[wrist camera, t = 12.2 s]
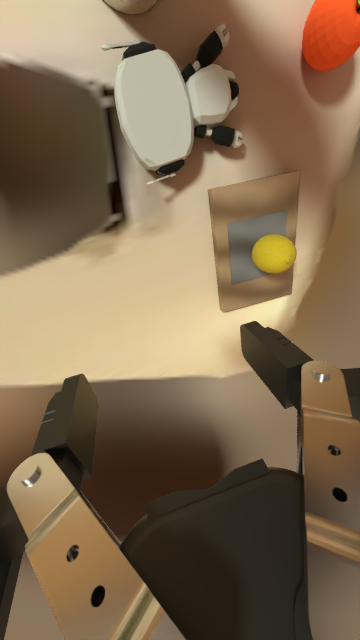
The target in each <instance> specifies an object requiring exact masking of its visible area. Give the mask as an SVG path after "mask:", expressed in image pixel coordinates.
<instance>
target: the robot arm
mask: <svg viewBox="0 0 360 640" xmlns="http://www.w3.org/2000/svg"><path fill="white" fill-rule="evenodd" d="M104 1H105V2H106V3H107V4H108V5H110V6H111V7H113V8H114V9H116V10H117V11H120V12H123V13H126V14H139V13H143V12H145V11H147V10H148V9H150V8H151V7H153V5H154V4H155V3H156V2H157V1H158V0H104ZM240 332H241V346H242V353H243V355H244V358H245V359H246V361H247V362H248V363H249V365H250V366H251V367H252V368H253V370H254V371H255V372H256V373H257V375H258V376H259V377H260V378H261V380H262V381H263V382H264V383H265V385H266V386H267V387H268V388H269V390H270V391H271V392H272V393H273V395H274V396H275V397H276V398H277V400H278V401H279V402H280V403H281V405H282V406H283V407H284V408H285V409H286V408H289V407H292V406H294V407H295V408H296V409H297V461H296V472H294V471H291V470H287V469H283V468H275V467H267V466H266V464H265V462H264V461H263V459H260V460H257V461H255V462H252V463H249V464H247V465H244V466H242V467H239V468H237V469H234V470H233V471H232V472H231V473H229V474H228V475H227V476H225V477H224V478H223V479H221V480H220V481H219V482H218V483H216V484H215V485H214V486H212V487H211V488H209V489H205V490H191V491H177V492H174V493H171V494H168V495H166V496H163V497H161V498H158V499H155V500H153V501H150V502H148V503H146V506H147V514H146V515H145V516H144V517H143V518H142V519H141V520H140V521H139V522H137V523H136V525H135V526H134V527H133V528H132V529H131V530H130V532H129V533H128V535H127V536H126V538H125V539H124V541H123V542H122V544H121V543H120V541H119V540H118V539H117V538H116V536H115V535H114V534H113V533H112V531H111V530H110V529H109V528H108V527H107V525H106V524H105V522H104V521H103V520H102V519H101V517H100V516H99V515H98V513H97V512H96V511H95V510H94V508H93V507H92V506H91V504H90V503H89V502H88V501H87V499H86V498H85V497H84V495H83V494H82V493H81V483H82V481H84V480H86V479H89V478H92V471H93V460H94V449H95V437H96V425H97V415H98V403H97V398H96V396H95V394H94V392H93V390H92V388H91V387H90V384H89V383H88V381H87V379H86V377H85V376H84V374H79V375H76V376H72V377H69V378H66V379H65V380H64V383H63V387H62V390H61V392H57V393H56V394H55V395H54V396H53V398H52V399H51V400H50V402H49V403H48V406H47V409H46V412H45V415H44V418H43V421H42V422H43V424H41V427H40V430H39V433H38V436H37V439H36V442H35V445H34V448H33V451H32V454H31V457H29V458H28V459H26V460H25V461H24V462H22V464H20V465H19V466H18V468H17V469H16V470H15V471H14V472H13V474H12V475H11V477H10V479H9V482H8V484H7V485H6V486H4V487H3V488H1V489H0V640H4V636H5V632H6V627H7V623H8V618H9V614H10V609H11V605H12V600H13V596H14V591H15V587H16V582H17V578H18V573H19V569H20V564H21V559H22V555H23V551H25V550H26V552H27V555H28V557H29V560H30V562H31V564H32V567H33V569H34V571H35V573H36V576H37V578H38V581H39V583H40V585H41V587H42V590H43V592H44V594H45V597H46V599H47V601H48V604H49V606H50V608H51V610H52V613H53V615H54V617H55V619H56V622H57V624H58V626H59V629H60V631H61V633H62V635H63V638H64V640H360V368H353V369H339V368H338V367H336V366H335V365H333V364H331V363H328V362H325V361H314V360H313V359H312V358H310V357H309V356H308V355H307V354H306V353H304V352H303V351H302V350H301V349H299V348H298V347H297V346H296V345H294V344H293V343H291V341H290V340H288V339H287V338H285V336H284V335H282V334H281V333H280V332H279V331H277V330H274V329H272V328H269V327H267V328H264V327H263V326H261V325H260V324H259V323H258V322H257V321H253V322H250V323H246V324H243V325H241V327H240Z"/></svg>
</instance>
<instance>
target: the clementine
mask: <svg viewBox="0 0 360 640" xmlns="http://www.w3.org/2000/svg"><path fill="white" fill-rule="evenodd" d="M359 46H360V0H316V1H315V3H314V4H313V6H312V8H311V11H310V13H309V15H308V18H307V20H306V22H305V27H304V31H303V40H302V47H303V54H304V57H305V59H306V61H307V63H308V64H309V65H310V66H311V67H312V68H313V69H316V70H319V71H327V70H331V69H334V68H336V67H338V66H340V65H342V64H343V63H344V62H345V61H346V60H348V59H349V58H350V57H351V56H352V55H353V54H354V53H355V52H356V50H357V49H358V48H359Z"/></svg>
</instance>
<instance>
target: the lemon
mask: <svg viewBox="0 0 360 640" xmlns="http://www.w3.org/2000/svg"><path fill="white" fill-rule="evenodd" d="M252 259H253V262H254V264H255V265H256V266H257V267H258V268H259V269H260V270H262V271H264V272H267V273H281V272H284V271H286V270H287V269H289V268H290V267H291V266H292V265H293V263H294V261H295V259H296V248H295V245H294V244H293V243H292V241H290V240H289V239H288V238H286V237H284V236H281V235H278V234H270V235H267V236H264V237H262V238H260V239H259V240H258V241H257V242H256V244H255V245H254V247H253V250H252Z"/></svg>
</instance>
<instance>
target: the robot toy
mask: <svg viewBox="0 0 360 640" xmlns="http://www.w3.org/2000/svg"><path fill="white" fill-rule="evenodd" d="M226 28H227V27H226V25H225V24H224V23H222V24H220V25H218V26H217V27H216V30H215V31H213V32H212V33H211V34H210V35H209V36H208V37H207V38H206V40H205V41H204V42H203V43H202V44H201V46H200V48H199V51H198V54H197V58H196V61H195V62H194V64H193V65H192V64H188V65H187V66H186V67H185V68H184V70H183V71H182V72H180V70H179V68H178V66H177V64H176V62H175V61H174V60H173V59H172V57H171V56H170V55H169V54H168V52H165V51H162V50H159V49H156V47H155V45H154V44H150V43H146V42H141V43H139V39H137V40H133V41H132V42H128V43H119V44H110V45H109V44H104V45H103V46H102V47H101V48H102V49H103V50H104V51H106V50H109V49H115V48H123V47H129V48H128V49H127V50H126V51H125V52H124V53H123V59H122V62H121V63H120V64H119V66H118V67H117V73H116V80H115V87H114V90H115V102H116V109H117V113H118V118H119V122H120V127H121V131H122V133H123V135H124V137H125V139H126V141H127V143H128V145H129V147H130V149H131V151H132V153H133V154H134V156H135V157H136V159H137V160H138V162H139V163H140V164H141V165H142V166H143V167H145V168H146V169H148V170H153V171H156V173H157V174H159V175H168V174H169V175H168V176H165V177H162V178H159V179H156V180H154V181H153V180H152V181H150V182H148V183H147V184H152V183H154V182H156V181H159V180H162V179H165V178H167V177H172V176H175V172H176V171H178V170H179V169H180V168H181V167H182V166H183V165H184V160H185V159H186V157H187V156H188V155H189V154H190V153H191V150H192V146H193V140H194V136H195V137H199V138H203V137H204V136H205V135H206V136H209V137H210V138H211V139H212V140H213V142H214V143H215V144H219V145H223V146H227V147H230V146H231V145H232V146H233V147H234V148H239V147H240V146H241V145H242V142H240V141H238V139H240V140H242V139H243V134H242V133H241V132H239V131H235V129H233V128H230V127H226V126H218V127H215V128H213V129H210V128H211V127H214V126H216V125H217V124H219V123H220V122H222V121H223V120H224V119H225V118H226V117H227V116H228V114H229V112H230V111H231V110H232V109H233V108H234V107H235V106H236V105H237V101H238V96H239V95H238V94H239V87H238V84H237V83H236V82H234V81H235V80H236V77H235V75H234V73H233V71H230V70H226V69H223V68H222V67H221V66H220V65H216V64H212V63H213V62H214V60H215V59H216V58H217V57H218V56H219V55H220V53H221V51H222V49H223V48H224V47H226V46H227V44H228V42H229V39H230V34H229V31H228V33H226V35H225V37H224V35H223V33H222V32H223V31H225V30H226ZM202 68H203V69H202ZM199 69H201V70H199ZM198 70H199V71H198ZM197 71H198V72H197ZM234 98H235V99H234ZM231 100H232V101H231Z"/></svg>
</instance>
